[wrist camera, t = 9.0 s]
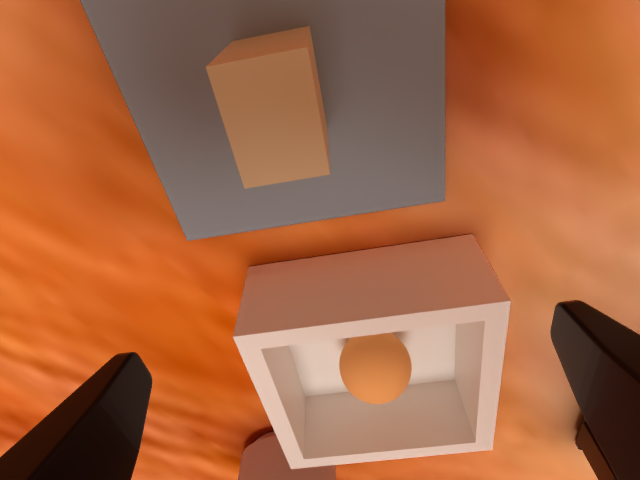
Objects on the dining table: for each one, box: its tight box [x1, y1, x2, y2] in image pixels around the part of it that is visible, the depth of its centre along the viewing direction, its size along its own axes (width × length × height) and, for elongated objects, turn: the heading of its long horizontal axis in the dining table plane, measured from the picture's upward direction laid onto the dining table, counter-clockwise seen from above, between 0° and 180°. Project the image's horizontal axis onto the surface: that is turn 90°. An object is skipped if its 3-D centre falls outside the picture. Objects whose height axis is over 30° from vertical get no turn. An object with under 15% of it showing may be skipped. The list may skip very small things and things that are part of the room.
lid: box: [80, 0, 445, 241], centre depth 15 cm, size 13×13×6 cm
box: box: [233, 234, 511, 469], centre depth 23 cm, size 12×12×5 cm
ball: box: [339, 333, 412, 404], centre depth 23 cm, size 4×4×4 cm
